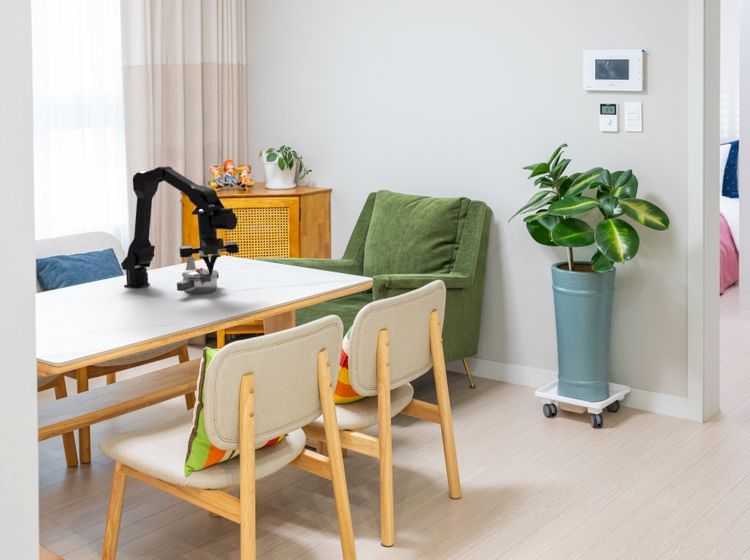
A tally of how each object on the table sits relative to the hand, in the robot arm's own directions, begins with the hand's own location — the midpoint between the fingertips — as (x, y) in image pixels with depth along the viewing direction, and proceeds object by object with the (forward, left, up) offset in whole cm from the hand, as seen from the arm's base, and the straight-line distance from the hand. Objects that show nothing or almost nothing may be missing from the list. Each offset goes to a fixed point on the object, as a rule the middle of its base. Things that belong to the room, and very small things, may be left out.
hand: (210, 275), depth 311 cm
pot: (-7, +3, -7) cm, 10 cm away
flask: (-15, +12, -7) cm, 21 cm away
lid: (-5, +3, -1) cm, 6 cm away
